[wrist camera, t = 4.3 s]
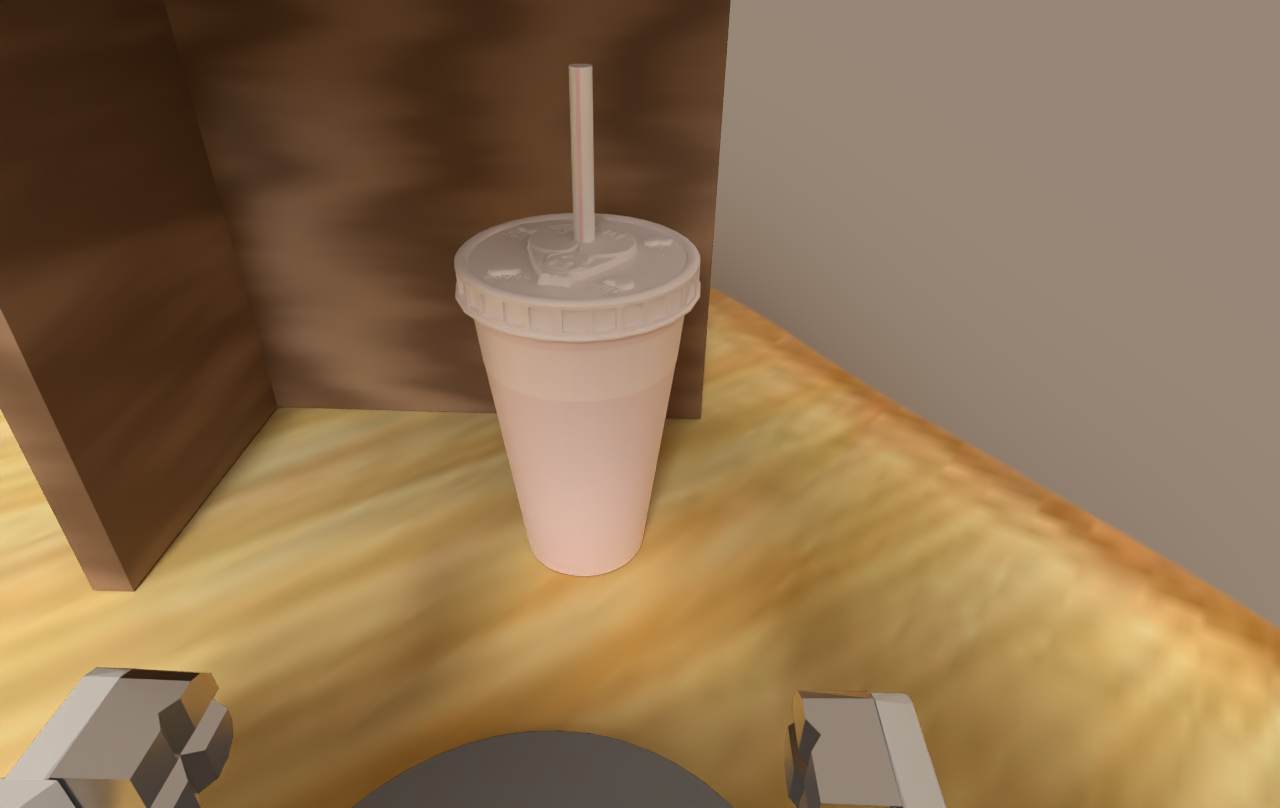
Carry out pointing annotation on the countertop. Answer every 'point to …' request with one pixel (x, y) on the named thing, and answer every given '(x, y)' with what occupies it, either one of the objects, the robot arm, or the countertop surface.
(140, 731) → the robot arm
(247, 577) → the countertop surface
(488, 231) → the smoothie
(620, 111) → the shelf
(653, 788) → the coaster
